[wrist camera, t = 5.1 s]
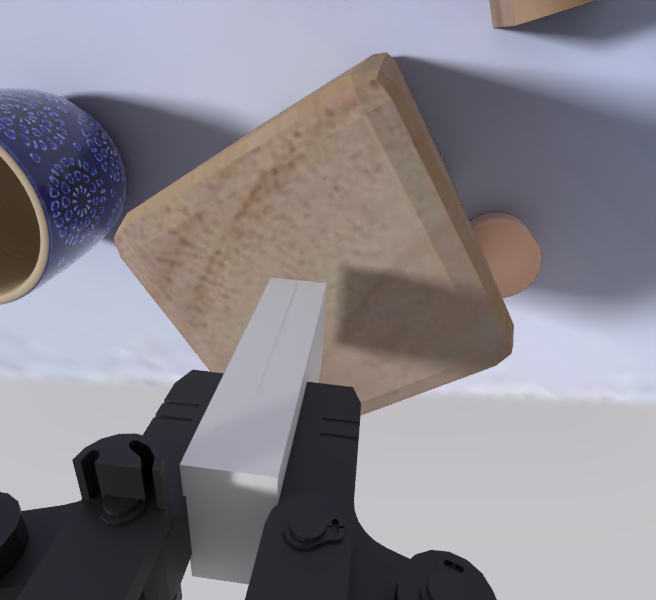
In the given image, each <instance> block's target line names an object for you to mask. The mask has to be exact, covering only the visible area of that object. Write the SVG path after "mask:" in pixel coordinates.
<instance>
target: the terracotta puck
mask: <svg viewBox="0 0 656 600" xmlns="http://www.w3.org/2000/svg"><path fill="white" fill-rule="evenodd" d="M470 223H471V225H472V228H473V230H474V233H475V235H476V237H477V240H478V242H479V244H480V247H481V249H482V251H483V254H484V256H485V258H486V261H487V263H488V266H489V268H490V270H491V273H492V275H493V277H494V280H495V282H496V284H497V287H498V289H499V292H500V294H501V296H502V298H505V297H510V296H513V295H515V294H518V293H520V292H521V291H523V290H524V289H526V288H527V287H528V286H529V285H530V284H531V283H532V282H533V281H534V280H535V278H536V277H537V275H538V273H539V271H540V268H541V264H542V253H541V249H540V247H539V244H538V243H537V241H536V240H535V238H534V237H533V235H532V234H531V233H530V231H529V230H528V228H527V227H526V226H525V224H524V223H523V222H522V221H521V220H520V219H519V218H517V217H515V216H513V215H511V214H508V213H503V212H490V213H486V214H483V215H480V216H478V217H476V218H474V219H473V220H471V221H470Z"/></svg>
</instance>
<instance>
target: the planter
mask: <svg viewBox="0 0 656 600" xmlns="http://www.w3.org/2000/svg"><path fill="white" fill-rule="evenodd" d="M125 197H126V175H125V170H124V166H123V162H122V159H121V157H120V154H119V152H118V150H117V148H116V146H115V144H114V142H113V141H112V139H111V138H110V136H109V135H108V133H107V132H106V131H105V129H104V128H103V127H102V126H101V125H100V124H99V123H98V122H97V121H96V120H95V119H94V118H93V117H92V116H91V115H90V114H88V113H87V112H86V111H84V110H83V109H81V108H80V107H78V106H77V105H75V104H74V103H72V102H70V101H68V100H66V99H64V98H62V97H60V96H57V95H54V94H51V93H47V92H42V91H37V90H32V89H9V88H8V89H0V304H6V303H10V302H13V301H16V300H18V299H20V298H22V297H24V296H26V295H27V294H29V293H31V292H32V291H34V290H36V289H37V288H39V287H40V286H42V285H43V284H45V283H46V282H48V281H49V280H51V279H52V278H54V277H55V276H57V275H58V274H59V273H61V272H62V271H64V270H65V269H66V268H68V267H69V266H70V265H72V264H73V263H74V262H76V261H77V260H78V259H80V258H81V257H82V256H84V255H85V254H86V253H88V252H89V251H90V250H91V249H92V248H93V247H95V246H96V245H97V244H98V243H99V242H100V241H101V240H102V239H103V238H104V237H105V236H106V235H107V234H108V233H109V232H110V231H111V230H112V228H113V227H114V225H115V224H116V222H117V221H118V219H119V217H120V215H121V213H122V210H123V207H124V203H125Z"/></svg>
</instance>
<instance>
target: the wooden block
mask: <svg viewBox="0 0 656 600" xmlns="http://www.w3.org/2000/svg"><path fill="white" fill-rule="evenodd" d="M114 241H115V244H116V246H117V249H118V252H119V254H120V257H121V258H122V260H123V261H124V262H125V264H126V265H127V266H128V267H129V269H130V270H131V271H132V272H133V274H134V275H135V276H136V278H137V279H138V280H139V281H140V283H141V284H142V285H143V286H144V288H145V289H146V290H147V292H148V293H149V294H150V295H151V297H152V298H153V299H154V300H155V302H156V303H157V304H158V306H159V307H160V308H161V309H162V311H163V312H164V313H165V314H166V316H167V317H168V318H169V320H170V321H171V322H172V323H173V325H174V326H175V327H176V328H177V330H178V331H179V332H180V334H181V335H182V336H183V337H184V339H185V340H186V341H187V342H188V344H189V345H190V346H191V348H192V349H193V350H194V351H195V353H196V354H197V355H198V356H199V358H200V359H201V360H202V362H203V363H204V364H205V365H206V367H207V368H208V369H209V370H210V372H217V373H225V371H226V369H227V367H228V365H229V363H230V361H231V358H232V356H233V354H234V352H235V350H236V348H237V346H238V344H239V342H240V340H241V338H242V336H243V334H244V332H245V330H246V328H247V326H248V324H249V322H250V320H251V317H252V315H253V313H254V311H255V309H256V307H257V305H258V303H259V301H260V299H261V297H262V295H263V293H264V291H265V289H266V287H267V285H268V283H269V281H270V279H271V278H280V279H290V280H300V281H309V282H319V283H327V289H326V304H325V319H324V334H323V349H322V364H321V371H320V376H319V381H318V383H324V384H332V385H341V386H349V387H353V388H354V390H355V392H356V394H357V396H358V398H359V400H360V402H361V414H360V416H361V415H364V414H366V413H369V412H372V411H374V410H377V409H380V408H382V407H385V406H388V405H391V404H393V403H396V402H399V401H401V400H404V399H407V398H410V397H412V396H415V395H418V394H420V393H423V392H426V391H428V390H431V389H434V388H437V387H439V386H442V385H445V384H447V383H450V382H453V381H456V380H458V379H461V378H464V377H466V376H469V375H472V374H475V373H477V372H480V371H483V370H485V369H488V368H491V367H493V366H496V365H497V364H499V363H500V362H501V361H502V360H504V359H505V358H506V357H508V356H509V355H510V354H511V353H512V348H513V331H514V325H513V322H512V320H511V317H510V315H509V313H508V310H507V308H506V306H505V303H504V301H503V299H502V296H501V294H500V292H499V289H498V287H497V284H496V282H495V280H494V277H493V275H492V273H491V270H490V268H489V266H488V263H487V261H486V258H485V256H484V254H483V251H482V249H481V247H480V244H479V242H478V240H477V237H476V235H475V233H474V230H473V228H472V225H471V223H470V221H469V218H468V216H467V214H466V211H465V209H464V207H463V204H462V202H461V200H460V197H459V195H458V192H457V190H456V188H455V185H454V183H453V181H452V179H451V177H450V174H449V172H448V170H447V168H446V166H445V164H444V162H443V160H442V157H441V155H440V153H439V151H438V149H437V147H436V145H435V143H434V140H433V138H432V136H431V134H430V132H429V130H428V128H427V125H426V123H425V121H424V119H423V117H422V115H421V113H420V111H419V108H418V106H417V104H416V102H415V100H414V98H413V96H412V94H411V91H410V89H409V87H408V85H407V83H406V81H405V79H404V77H403V74H402V72H401V70H400V68H399V66H398V64H397V62H396V61H395V60H394V59H393V58H392V57H391V56H390V55H388V54H387V53H381V54H374V55H372V56H370V57H369V58H367V59H365V60H364V61H362V62H361V63H359V64H357V65H356V66H354V67H353V68H351V69H349V70H348V71H346V72H345V73H343V74H341V75H340V76H338V77H337V78H335V79H333V80H332V81H330V82H329V83H327V84H326V85H324V86H322V87H321V88H319V89H318V90H316V91H314V92H313V93H311V94H310V95H308V96H306V97H305V98H303V99H302V100H300V101H298V102H297V103H295V104H294V105H292V106H291V107H289V108H287V109H286V110H284V111H283V112H281V113H279V114H278V115H276V116H275V117H273V118H271V119H270V120H268V121H267V122H265V123H263V124H262V125H260V126H259V127H257V128H256V129H254V130H253V131H251V132H250V133H248V134H247V135H245V136H244V137H242V138H240V139H239V140H237V141H236V142H234V143H233V144H231V145H230V146H228V147H227V148H225V149H224V150H222V151H221V152H219V153H218V154H216V155H215V156H213V157H212V158H210V159H209V160H207V161H206V162H204V163H202V164H201V165H199V166H198V167H196V168H195V169H193V170H192V171H190V172H189V173H187V174H186V175H184V176H183V177H181V178H180V179H178V180H177V181H175V182H174V183H172V184H171V185H169V186H167V187H166V188H164V189H163V190H161V191H160V192H158V193H157V194H155V195H154V196H152V197H151V198H149V199H148V200H146V201H145V202H143V203H142V204H140V205H139V206H137V207H136V208H134V209H132V210H131V211H129V212H128V213H127V214H126V216H125V218H124V220H123V221H122V223H121V225H120V226H119V228H118V230H117V232H116V234H115V237H114Z"/></svg>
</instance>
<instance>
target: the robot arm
mask: <svg viewBox="0 0 656 600" xmlns="http://www.w3.org/2000/svg"><path fill="white" fill-rule="evenodd" d="M326 289H327V283H319V282H309V281H300V280H290V279H280V278H271V279H270V281H269V283H268V285H267V287H266V289H265V291H264V293H263V295H262V297H261V299H260V301H259V303H258V305H257V307H256V309H255V311H254V313H253V315H252V317H251V320H250V322H249V324H248V326H247V328H246V330H245V332H244V334H243V336H242V338H241V340H240V342H239V344H238V346H237V348H236V350H235V352H234V354H233V356H232V358H231V361H230V363H229V365H228V367H227V369H226V371H225V373H217V372H208V371H200V370H192V371H191V372H189V373H188V374H186V375H185V376H184V377H182V378H181V379H180V380H178V381H177V382H176V383H175V384H174V385H173V387H172V389H171V390H170V392H169V393H168V395H167V397H166V398H165V400H164V404H162V405H161V406H160V408H159V410H158V411H157V413H156V416H155V418H153V419H152V421H151V423H150V424H149V426H148V427H147V429H146V431H145V432H144V434H143V436H142V435H139V434H118V435H114V436H110V437H106V438H102V439H101V440H98V441H97V442H95V443H93V444H91V445H89V446H87V447H86V448H84V449H83V450H82V451H81V452H80V453H79V454H78V455H77V456H76V457H75V458H74V459H73V464H74V468H75V472H76V476H77V480H78V484H79V488H80V491H81V495H82V500H81V501H78V502H75V503H70V504H66V505H61V506H54V507H48V508H41V509H33V510H27V511H21V509H20V506H19V503H18V501H17V500H15V499H14V498H13V497H12V496H11V495H9V494H8V493H2V492H0V600H181V599H182V593H181V581H182V579H183V576H184V573H185V571H186V568H187V565H188V563H189V560H190V561H191V569H192V576H196V577H202V578H209V579H216V580H224V581H230V582H237V583H244V584H249V586H248V590H247V594H246V598H245V600H497V599H496V597H495V595H494V592H493V590H492V588H491V587H490V585H489V584H488V582H487V580H486V579H485V577H484V576H483V574H482V573H481V572H480V571H479V570H478V569H477V568H476V567H474V566H473V565H472V564H471V563H470V562H469V561H467V560H466V559H464V558H462V557H459V556H457V555H455V554H453V553H450V552H445V551H436V550H429V551H426V552H423V553H419V554H416V555H414V556H413V557H412V558H411V559H409V558H407V557H404V556H402V555H400V554H398V553H396V552H394V551H392V550H390V549H388V548H386V547H384V546H382V545H381V544H379V543H377V542H376V541H375V540H373V539H372V538H371V537H370V536H369V535H368V534H367V533H366V532H365V531H364V529H363V528H362V526H361V525H360V523H359V522H358V519H357V516H356V513H355V510H354V491H355V479H356V465H357V453H358V440H359V426H360V414H361V402H360V400H359V398H358V396H357V394H356V392H355V390H354V388H353V387H349V386H341V385H332V384H324V383H318V381H319V376H320V371H321V364H322V349H323V334H324V319H325V304H326Z"/></svg>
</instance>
